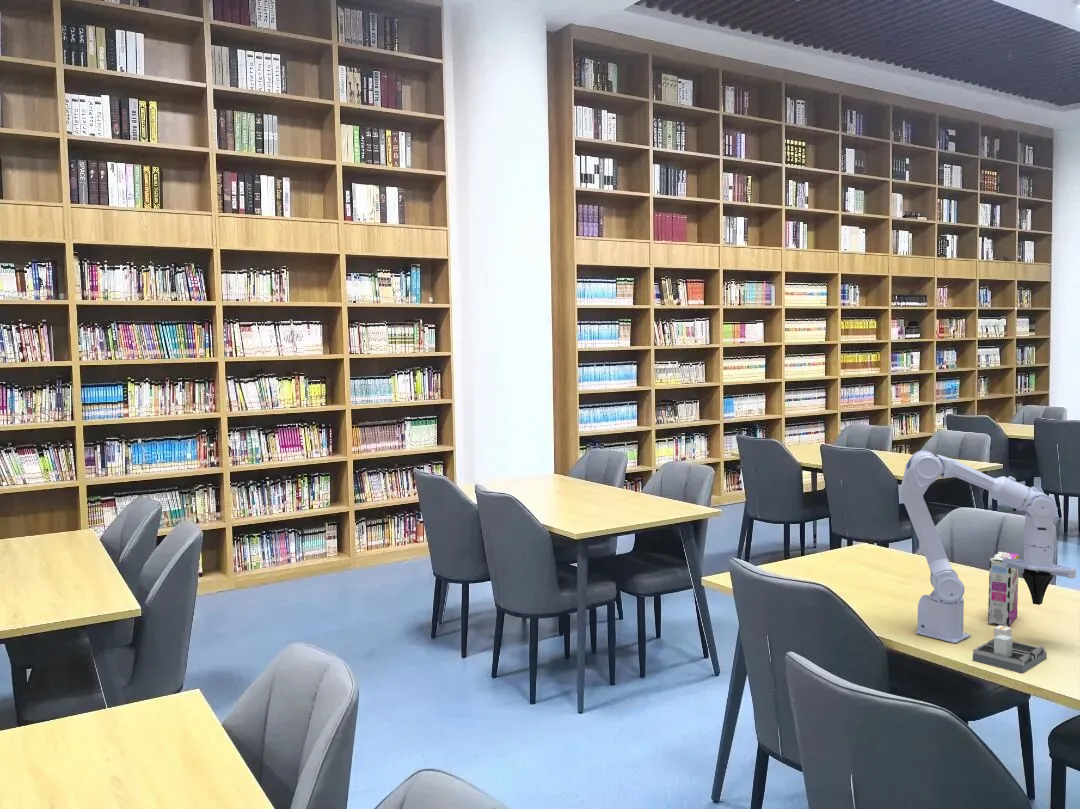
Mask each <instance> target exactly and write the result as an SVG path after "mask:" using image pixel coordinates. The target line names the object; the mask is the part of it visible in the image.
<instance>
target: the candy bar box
mask: <svg viewBox="0 0 1080 809" xmlns="http://www.w3.org/2000/svg"><path fill="white" fill-rule="evenodd" d="M1004 558H1010V559H1020V554H1019V553H1014V552H1013V553H1012V552H1005V551H998V552H997V553H996V554H994V555H993V556H992V557H991V558H990V559H989V570H988V571H989V572H988V574H989V578H988V603H987V605H988V608H987V610H988V611H987V613H988V614H987V624H989V625H993V626H996V627H997V626H999V625H1002V626H1006V627H1010V626H1011V625H1012V623H1013V622H1014V621H1015V619H1017V617H1018V599H1019V598H1018V597H1019V571H1020V569H1014V568H1004V567H1002V560H1003V559H1004Z"/></svg>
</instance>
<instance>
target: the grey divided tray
mask: <svg viewBox="0 0 1080 809" xmlns="http://www.w3.org/2000/svg"><path fill="white" fill-rule="evenodd" d="M1047 652H1048V651H1046V648H1045V647H1044V645H1043V646H1042V645H1040V646H1035V645H1031V644H1027V643H1022V642H1019V641H1018V642H1017V641H1014V640H1012V656H1010V657H1005V656H1001V655H997V654H994V638H993V639H991V640H989V641H987V642H986V643H983V644H982V645H979V646H977V647H976V649H975V648H974V649H973V650H972V661H974V662H978V663H981V664H985V665H989V666H993V667H996V668H1000V669H1001V668H1002V669H1005V670H1009V671H1012V672H1016V673H1019V674H1024V673H1025V672H1027V671H1029V670H1030V669H1031V668H1034V667H1035V666H1037V665H1038V664H1040V663H1041V662H1043V661H1045V660H1046V659H1048V658H1047V657H1048V656H1047V655H1048V654H1047Z"/></svg>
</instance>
